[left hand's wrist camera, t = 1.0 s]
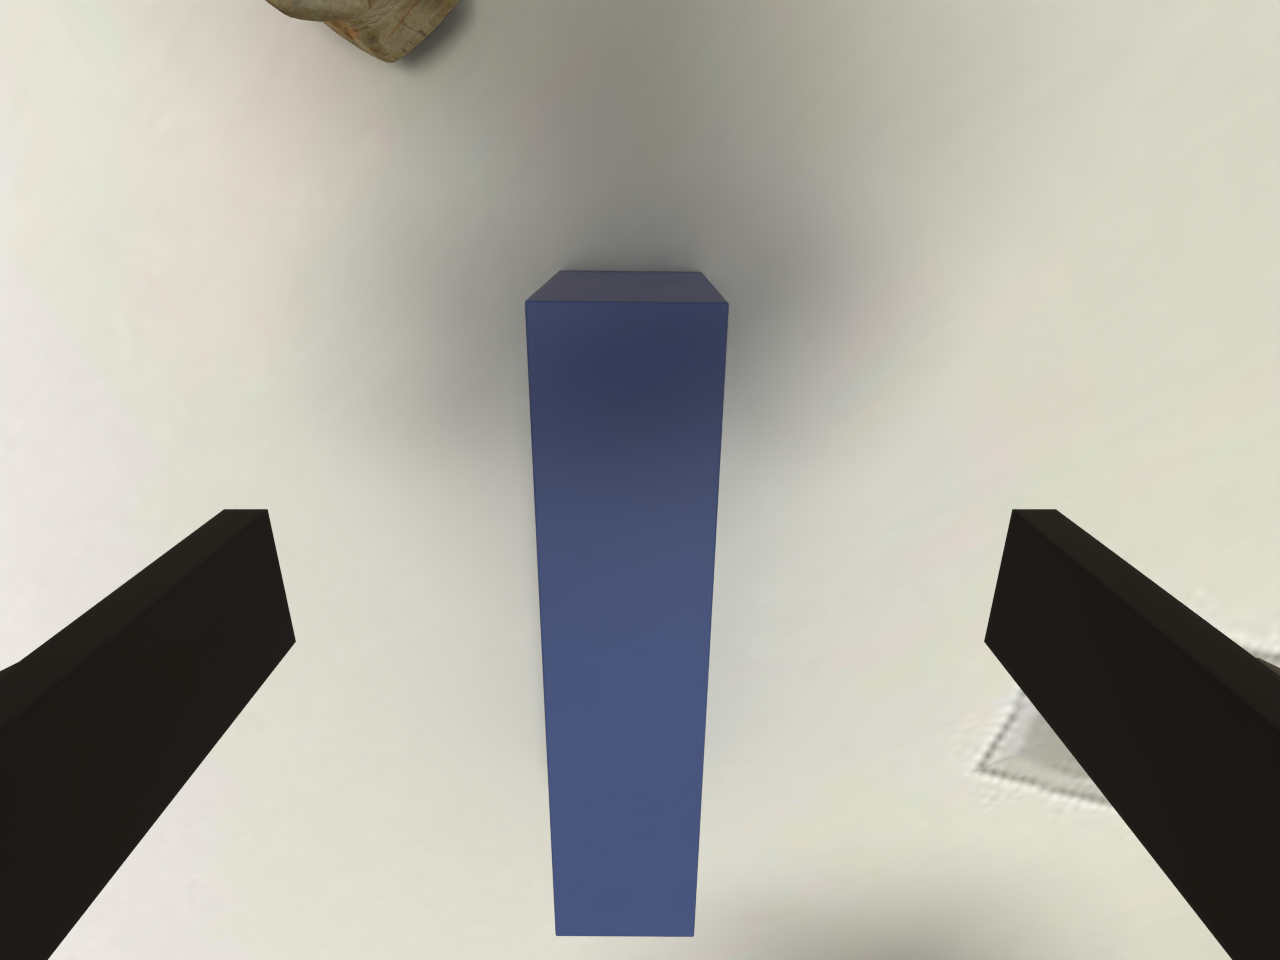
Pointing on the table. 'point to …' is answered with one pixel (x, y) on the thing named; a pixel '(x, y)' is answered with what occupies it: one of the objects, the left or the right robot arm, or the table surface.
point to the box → (625, 584)
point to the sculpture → (374, 21)
